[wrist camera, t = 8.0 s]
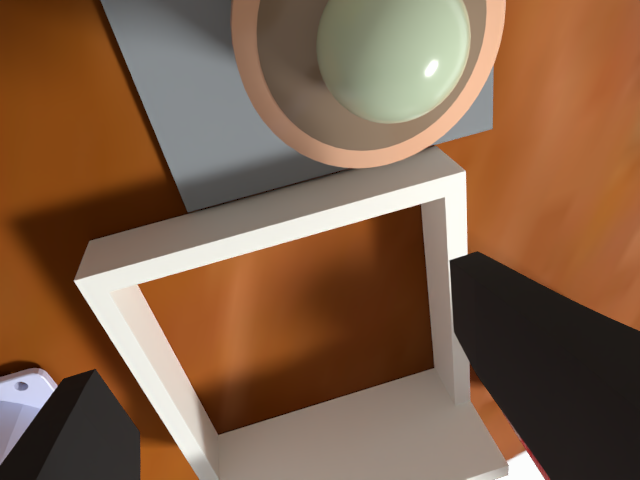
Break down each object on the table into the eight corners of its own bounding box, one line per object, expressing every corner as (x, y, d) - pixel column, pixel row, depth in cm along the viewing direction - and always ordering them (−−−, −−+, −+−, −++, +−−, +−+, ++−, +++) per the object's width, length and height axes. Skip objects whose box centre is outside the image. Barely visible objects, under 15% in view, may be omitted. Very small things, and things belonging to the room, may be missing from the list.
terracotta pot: (250, 117, 16) (287, 250, 9) (195, -84, 13) (186, -125, 6) (409, 78, 16) (564, 175, 9) (395, -126, 13) (613, -212, 6)
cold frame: (208, 448, 25) (209, 573, 20) (89, 240, 17) (43, 359, 12) (448, 373, 26) (507, 475, 21) (435, 145, 18) (523, 219, 13)
